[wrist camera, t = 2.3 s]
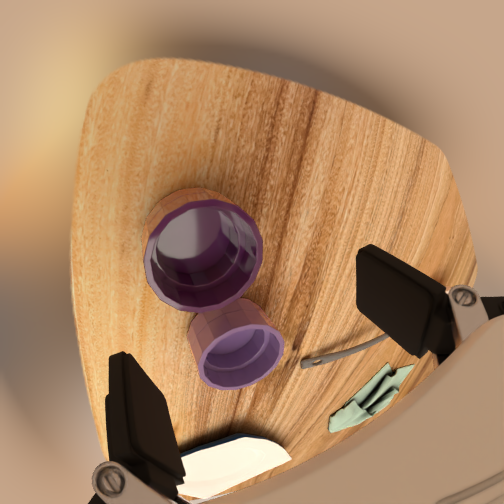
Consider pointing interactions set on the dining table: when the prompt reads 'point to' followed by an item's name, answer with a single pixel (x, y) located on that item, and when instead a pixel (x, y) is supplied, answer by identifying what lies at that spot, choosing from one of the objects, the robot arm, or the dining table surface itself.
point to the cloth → (369, 398)
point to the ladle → (337, 355)
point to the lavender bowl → (234, 345)
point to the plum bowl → (200, 250)
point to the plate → (228, 463)
